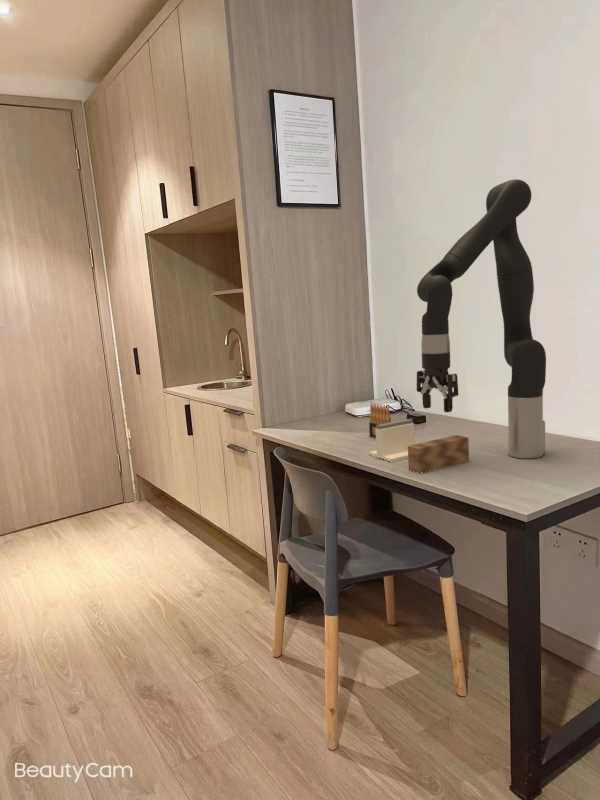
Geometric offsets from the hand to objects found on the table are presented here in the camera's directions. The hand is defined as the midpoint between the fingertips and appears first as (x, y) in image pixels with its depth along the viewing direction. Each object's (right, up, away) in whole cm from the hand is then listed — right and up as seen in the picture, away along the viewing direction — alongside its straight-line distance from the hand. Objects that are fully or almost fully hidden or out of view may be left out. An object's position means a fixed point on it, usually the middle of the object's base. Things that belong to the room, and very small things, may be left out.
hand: (437, 409), depth 169 cm
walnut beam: (+1, -16, +3) cm, 16 cm away
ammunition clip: (-10, -11, +38) cm, 41 cm away
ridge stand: (-9, -14, +16) cm, 23 cm away
